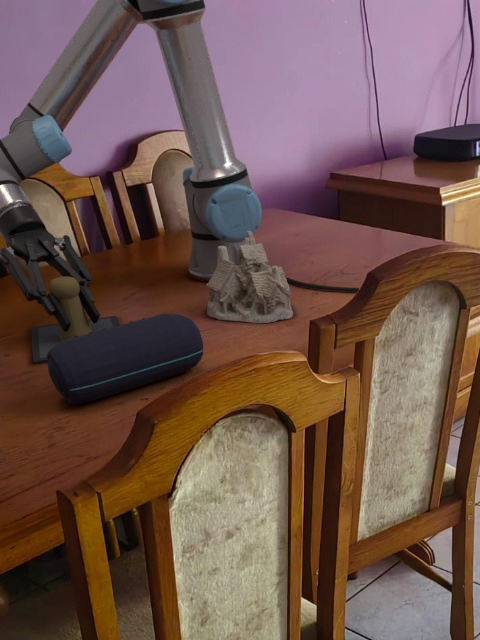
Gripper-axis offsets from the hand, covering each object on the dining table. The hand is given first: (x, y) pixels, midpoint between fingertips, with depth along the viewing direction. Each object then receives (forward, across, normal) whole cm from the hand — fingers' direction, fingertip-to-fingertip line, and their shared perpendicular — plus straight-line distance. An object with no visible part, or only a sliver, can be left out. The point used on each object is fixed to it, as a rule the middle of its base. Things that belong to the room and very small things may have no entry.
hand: (82, 323), depth 154 cm
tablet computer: (0, 0, -6) cm, 6 cm away
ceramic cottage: (+10, -31, +4) cm, 33 cm away
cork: (0, 0, -5) cm, 5 cm away
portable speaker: (+20, +6, +14) cm, 25 cm away
